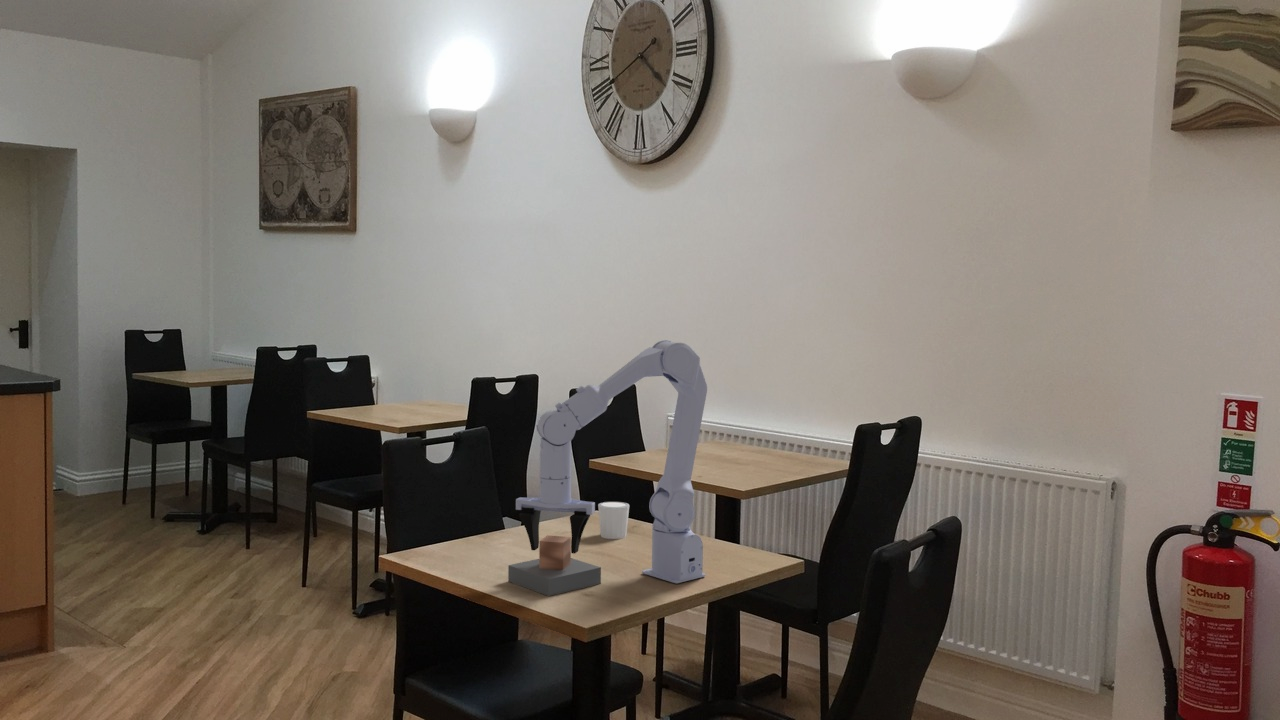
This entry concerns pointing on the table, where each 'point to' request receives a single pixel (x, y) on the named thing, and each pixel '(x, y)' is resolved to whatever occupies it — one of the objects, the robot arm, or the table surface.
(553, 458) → the robot arm
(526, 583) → the charcoal plinth
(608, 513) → the white tapered cylinder
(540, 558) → the terracotta cube
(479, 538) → the table surface
